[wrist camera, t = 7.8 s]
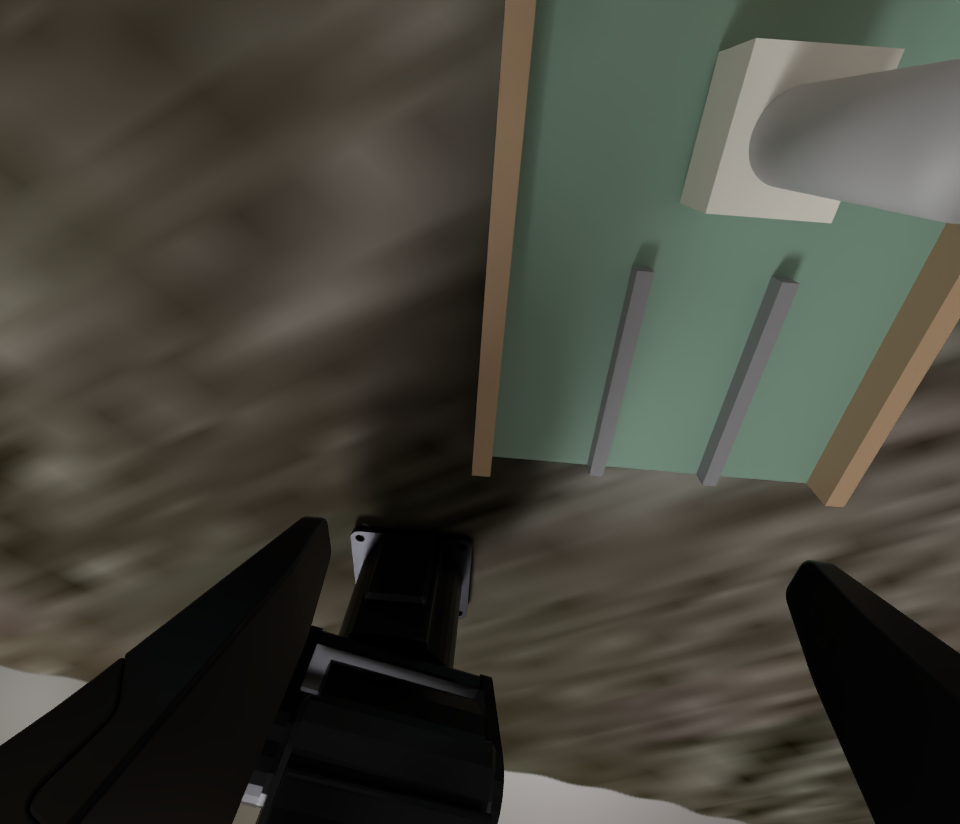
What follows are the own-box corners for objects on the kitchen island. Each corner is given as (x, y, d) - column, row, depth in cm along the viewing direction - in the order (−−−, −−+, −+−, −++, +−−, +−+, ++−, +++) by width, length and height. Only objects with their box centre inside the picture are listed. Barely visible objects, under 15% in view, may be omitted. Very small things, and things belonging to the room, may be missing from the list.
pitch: (814, 473, 22) (843, 507, 20) (475, 445, 22) (471, 475, 20) (1222, -278, 11) (1379, -369, 9) (530, -322, 11) (535, -420, 9)
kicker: (788, 211, 16) (1029, 279, 8) (679, 202, 16) (825, 263, 8) (844, 61, 14) (1228, -20, 6) (718, 51, 14) (955, -39, 6)
